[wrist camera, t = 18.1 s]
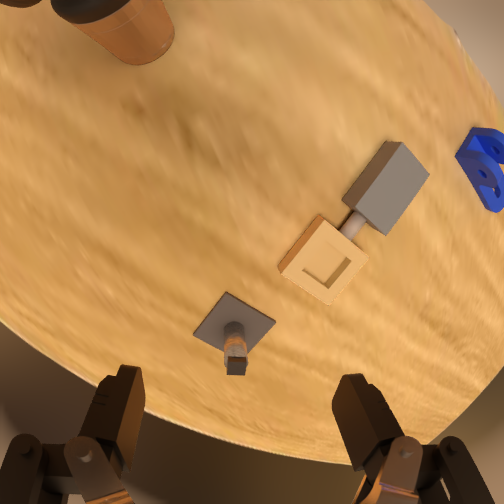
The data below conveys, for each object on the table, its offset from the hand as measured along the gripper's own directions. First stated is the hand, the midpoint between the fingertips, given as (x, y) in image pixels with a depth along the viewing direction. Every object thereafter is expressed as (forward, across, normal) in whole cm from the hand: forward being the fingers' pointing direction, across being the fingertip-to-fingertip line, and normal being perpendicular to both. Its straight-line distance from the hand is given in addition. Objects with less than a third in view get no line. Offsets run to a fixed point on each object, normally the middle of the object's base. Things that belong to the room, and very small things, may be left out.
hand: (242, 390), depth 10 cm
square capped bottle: (+32, -2, +20) cm, 38 cm away
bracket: (+34, -48, -14) cm, 60 cm away
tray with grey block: (+33, -19, -1) cm, 38 cm away
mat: (+33, -2, +20) cm, 39 cm away
